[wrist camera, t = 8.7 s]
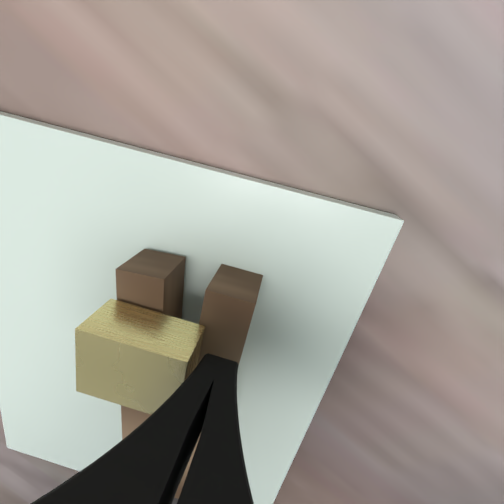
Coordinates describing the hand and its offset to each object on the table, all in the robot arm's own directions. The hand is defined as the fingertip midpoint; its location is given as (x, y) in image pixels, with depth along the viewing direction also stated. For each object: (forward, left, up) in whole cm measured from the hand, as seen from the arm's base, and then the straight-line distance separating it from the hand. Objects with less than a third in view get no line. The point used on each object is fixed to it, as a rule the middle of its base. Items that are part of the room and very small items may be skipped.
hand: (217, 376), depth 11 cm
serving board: (-5, +4, -4) cm, 8 cm away
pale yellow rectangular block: (0, +3, -1) cm, 3 cm away
